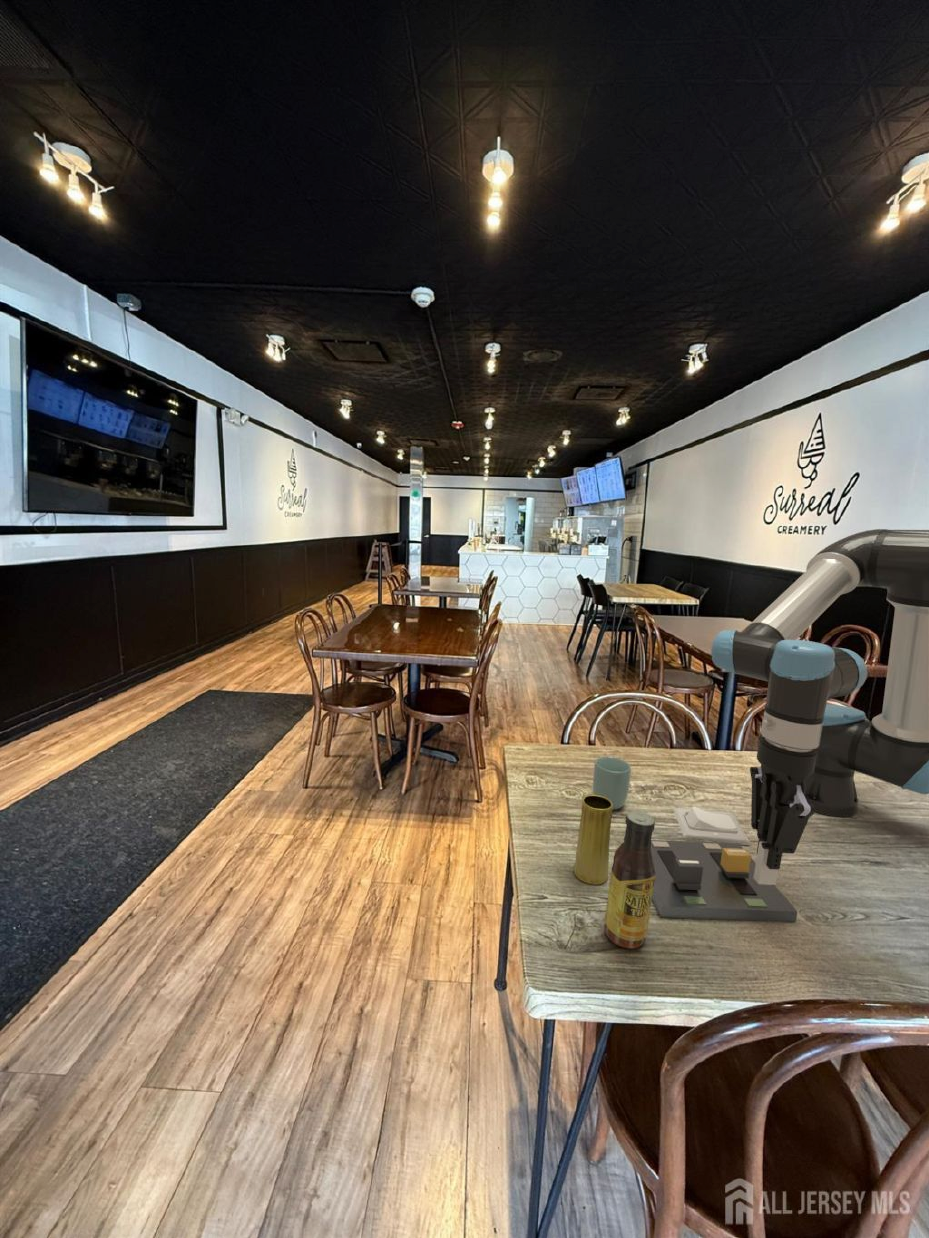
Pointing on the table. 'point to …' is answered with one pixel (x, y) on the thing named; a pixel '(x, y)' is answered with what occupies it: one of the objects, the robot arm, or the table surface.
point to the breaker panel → (713, 887)
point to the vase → (594, 840)
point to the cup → (612, 780)
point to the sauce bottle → (631, 884)
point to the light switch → (710, 825)
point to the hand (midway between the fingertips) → (764, 881)
